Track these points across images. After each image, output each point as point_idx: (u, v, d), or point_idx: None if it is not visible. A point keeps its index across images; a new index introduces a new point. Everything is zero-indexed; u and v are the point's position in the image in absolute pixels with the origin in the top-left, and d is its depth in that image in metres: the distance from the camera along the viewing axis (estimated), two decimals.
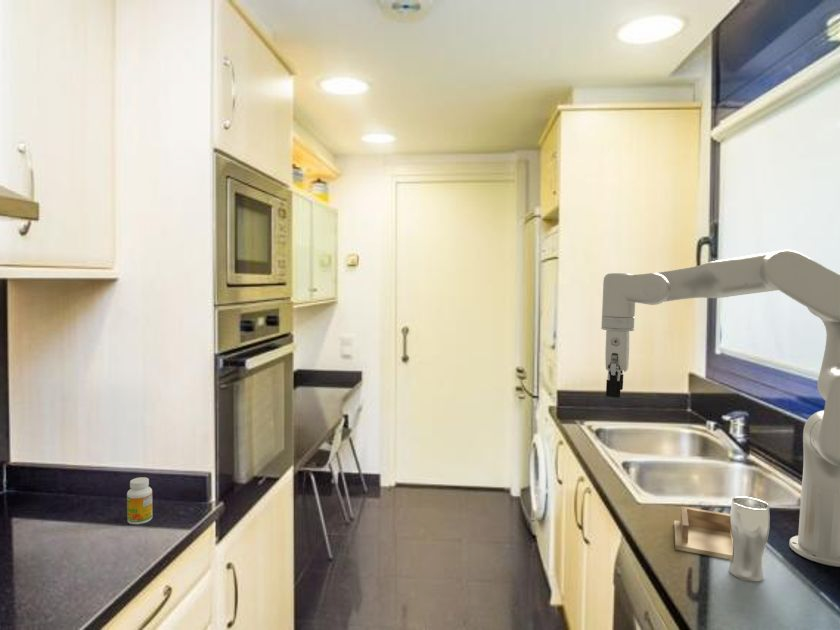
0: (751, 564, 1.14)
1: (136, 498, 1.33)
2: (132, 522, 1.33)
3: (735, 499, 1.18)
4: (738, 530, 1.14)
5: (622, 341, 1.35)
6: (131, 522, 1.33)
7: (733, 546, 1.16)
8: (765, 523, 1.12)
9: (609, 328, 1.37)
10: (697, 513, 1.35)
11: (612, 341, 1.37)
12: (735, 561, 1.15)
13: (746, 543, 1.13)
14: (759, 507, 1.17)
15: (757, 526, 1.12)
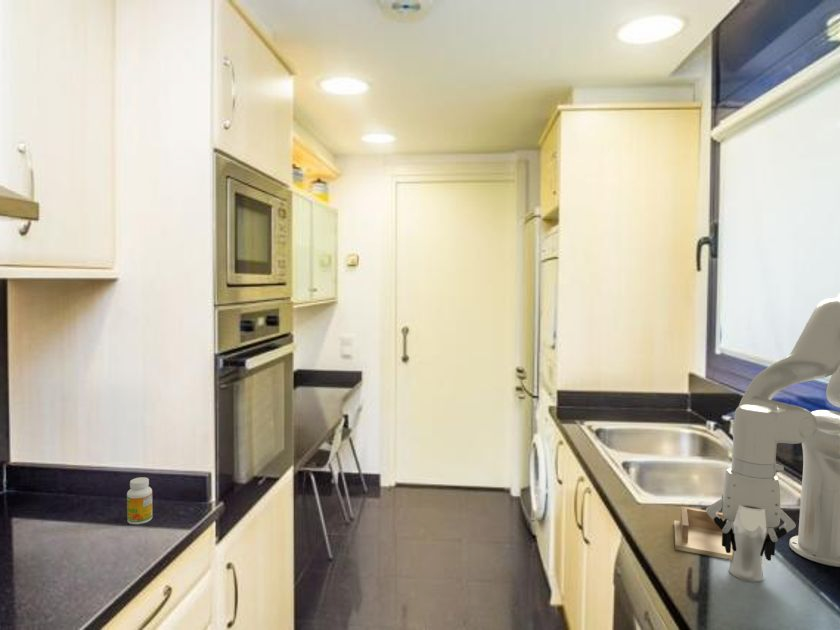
0: (751, 564, 1.14)
1: (136, 498, 1.33)
2: (132, 522, 1.33)
3: None
4: (738, 530, 1.14)
5: None
6: (131, 522, 1.33)
7: (733, 546, 1.16)
8: (765, 523, 1.12)
9: (773, 477, 1.12)
10: (697, 513, 1.35)
11: None
12: (735, 561, 1.15)
13: (746, 543, 1.13)
14: None
15: (757, 526, 1.12)
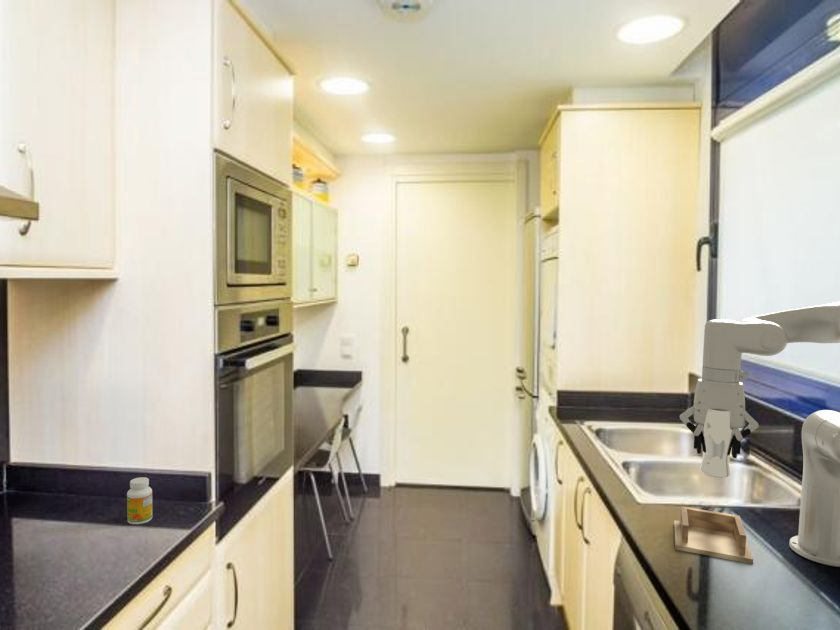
0: (718, 462, 1.26)
1: (136, 498, 1.33)
2: (132, 522, 1.33)
3: None
4: (707, 431, 1.26)
5: None
6: (131, 522, 1.33)
7: (703, 447, 1.28)
8: (731, 424, 1.25)
9: (738, 382, 1.24)
10: (697, 513, 1.35)
11: None
12: (705, 460, 1.28)
13: (714, 443, 1.26)
14: None
15: (724, 426, 1.24)
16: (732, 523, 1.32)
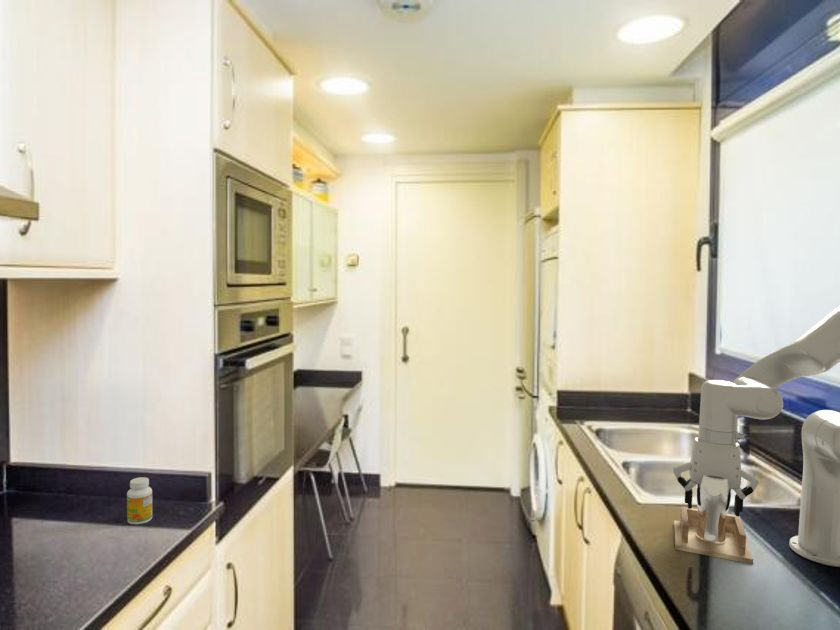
0: (714, 528, 1.27)
1: (136, 498, 1.33)
2: (132, 522, 1.33)
3: None
4: (703, 498, 1.27)
5: None
6: (131, 522, 1.33)
7: (699, 513, 1.29)
8: (727, 491, 1.26)
9: (734, 443, 1.25)
10: (697, 513, 1.35)
11: None
12: (701, 526, 1.29)
13: (710, 510, 1.27)
14: None
15: (720, 494, 1.26)
16: (732, 523, 1.32)
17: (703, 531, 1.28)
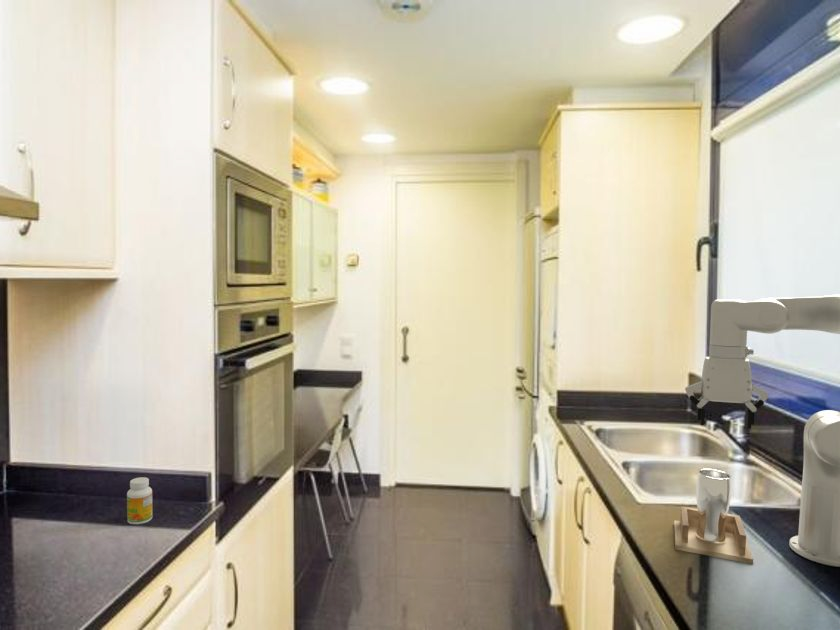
0: (714, 528, 1.27)
1: (136, 498, 1.33)
2: (132, 522, 1.33)
3: (701, 471, 1.31)
4: (703, 498, 1.27)
5: None
6: (131, 522, 1.33)
7: (699, 513, 1.29)
8: (726, 491, 1.26)
9: (745, 358, 1.29)
10: (697, 513, 1.35)
11: None
12: (701, 526, 1.29)
13: (710, 510, 1.27)
14: (723, 478, 1.30)
15: (720, 493, 1.26)
16: (732, 523, 1.32)
17: (703, 531, 1.28)
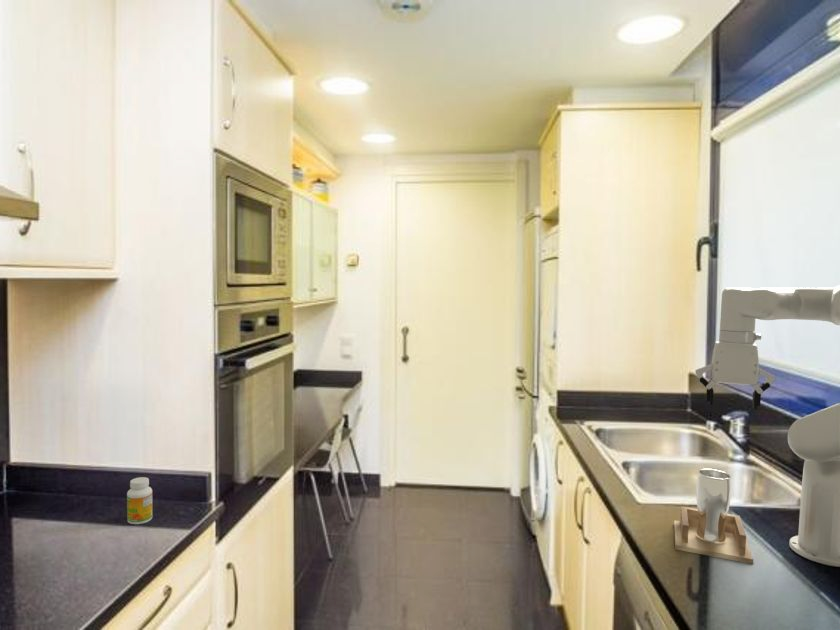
0: (714, 528, 1.27)
1: (136, 498, 1.33)
2: (132, 522, 1.33)
3: (701, 471, 1.31)
4: (703, 498, 1.27)
5: None
6: (131, 522, 1.33)
7: (699, 513, 1.29)
8: (726, 491, 1.26)
9: (753, 343, 1.38)
10: (697, 513, 1.35)
11: None
12: (701, 526, 1.29)
13: (710, 510, 1.27)
14: (723, 478, 1.30)
15: (720, 493, 1.26)
16: (732, 523, 1.32)
17: (703, 531, 1.28)
